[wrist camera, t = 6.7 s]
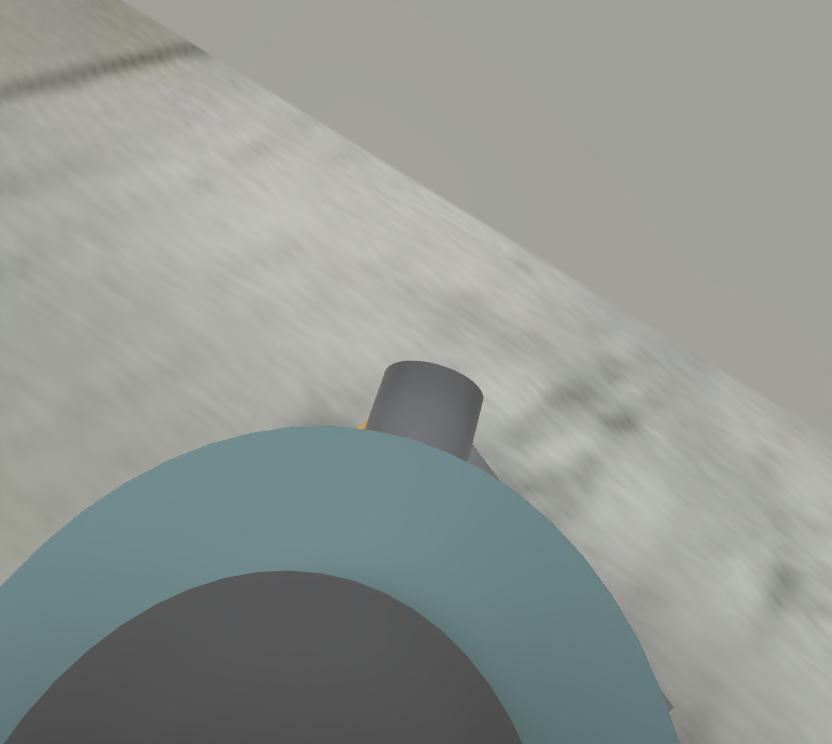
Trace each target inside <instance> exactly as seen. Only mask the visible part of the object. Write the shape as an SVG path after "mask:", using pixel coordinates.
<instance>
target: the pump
mask: <svg viewBox="0 0 832 744" xmlns="http://www.w3.org/2000/svg"><path fill="white" fill-rule="evenodd" d="M482 402H483V394H482V392H481V390H480V389H479V387H478V386H477V385H476V384H475V383H474V382H473V381H471V380H470V379H469V378H467V377H466V376H464V375H462V374H460V373H459V372H456V371H454V370H452V369H449V368H447V367H444V366H441V365H437V364H433V363H429V362H422V361H402V362H397V363H394V364H392V365H390V366H389V367H388V368H387V369H386V371H385V373H384V376H383V379H382V382H381V385H380V388H379V390H378V393H377V396H376V399H375V402H374V405H373V407H372V410H371V413H370V416H369V419H368V422H367V425H366V427H365V429H356V428H345V427H335V426H320V427H290V428H283V429H276V430H269V431H262V432H255V433H250V434H246V435H242V436H238V437H235V438H231V439H227V440H223V441H220V442H216V443H212V444H209V445H206V446H204V447H201V448H199V449H196V450H194V451H191V452H188V453H186V454H183V455H181V456H178V457H176V458H173V459H171V460H168V461H166V462H164V463H162V464H160V465H158V466H157V467H155V468H153V469H151V470H149V471H147V472H145V473H143V474H141V475H139V476H137V477H136V478H134V479H132V480H130V481H128V482H126V483H125V484H123V485H122V486H120V487H118V488H117V489H115V490H114V491H112V492H111V493H109V494H108V495H106V496H105V497H103V498H102V499H100V500H99V501H97V502H96V503H94V504H93V505H91V506H90V507H88V508H87V509H85V510H84V511H83V512H82V513H80V514H79V515H78V516H77V517H75V518H74V519H73V520H72V521H71V522H69V523H68V524H67V525H66V526H64V527H63V528H62V529H61V530H60V531H58V532H57V533H56V534H55V535H53V536H52V537H51V538H50V539H49V540H47V541H46V542H45V543H44V544H43V545H42V546H41V547H40V548H39V549H38V550H37V551H36V552H35V553H34V554H33V555H32V556H31V557H30V558H29V559H28V560H27V561H26V562H25V563H24V564H23V565H22V566H21V567H20V568H19V569H18V570H17V571H16V572H15V573H14V574H13V575H12V576H11V577H10V578H9V579H8V580H7V581H6V582H5V583H4V584H3V585H2V586H1V587H0V744H679V742H678V739H677V736H676V733H675V730H674V727H673V724H672V721H671V718H670V715H669V712H668V709H667V706H666V703H665V700H664V697H663V694H662V691H661V689H660V687H659V685H658V683H657V680H656V678H655V676H654V674H653V672H652V669H651V667H650V665H649V663H648V661H647V658H646V656H645V654H644V652H643V649H642V647H641V645H640V643H639V641H638V639H637V637H636V635H635V634H634V632H633V630H632V629H631V627H630V625H629V624H628V622H627V620H626V618H625V617H624V615H623V613H622V612H621V610H620V608H619V606H618V605H617V603H616V601H615V600H614V598H613V596H612V595H611V593H610V592H609V591H608V589H607V588H606V587H605V585H604V584H603V582H602V581H601V580H600V578H599V577H598V576H597V574H596V573H595V572H594V570H593V569H592V568H591V566H590V565H589V563H588V562H587V561H586V559H585V558H584V557H583V556H582V554H581V553H580V552H579V551H578V550H577V549H576V548H575V547H574V546H573V545H572V544H571V543H570V541H569V540H568V539H567V538H566V537H565V536H564V535H563V534H562V533H561V532H560V531H559V530H558V529H557V527H556V526H555V525H554V524H553V523H552V522H551V521H550V520H548V519H547V518H546V517H545V516H544V515H543V514H541V513H540V512H539V511H538V510H537V509H536V508H534V507H533V506H532V505H531V504H530V503H529V502H527V501H526V500H525V499H524V498H523V497H522V496H520V495H519V494H518V493H516V492H515V491H513V490H512V489H510V488H509V487H508V486H506V485H505V484H503V483H502V482H500V481H499V480H497V479H496V478H494V477H493V476H491V475H490V474H488V473H487V472H485V471H484V470H482V469H480V468H478V467H476V466H474V465H472V464H470V463H468V460H469V456H470V452H471V447H472V443H473V439H474V435H475V431H476V427H477V423H478V419H479V415H480V411H481V406H482Z"/></svg>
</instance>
